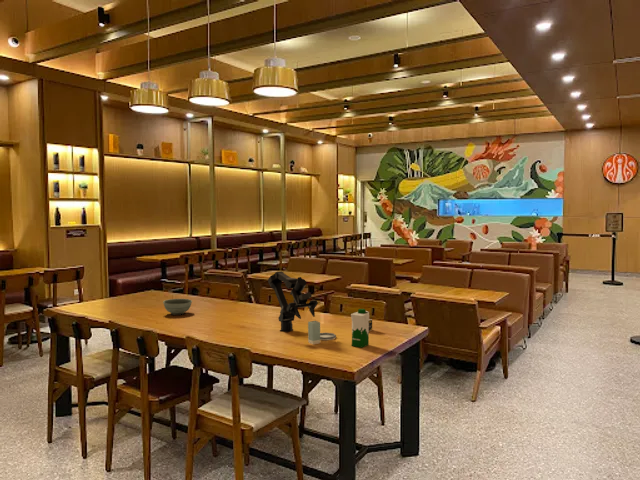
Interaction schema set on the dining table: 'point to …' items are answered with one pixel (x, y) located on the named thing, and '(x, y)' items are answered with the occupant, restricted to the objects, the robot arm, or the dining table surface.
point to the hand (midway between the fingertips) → (307, 317)
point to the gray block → (314, 332)
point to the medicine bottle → (369, 322)
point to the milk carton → (360, 328)
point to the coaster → (327, 336)
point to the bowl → (177, 306)
